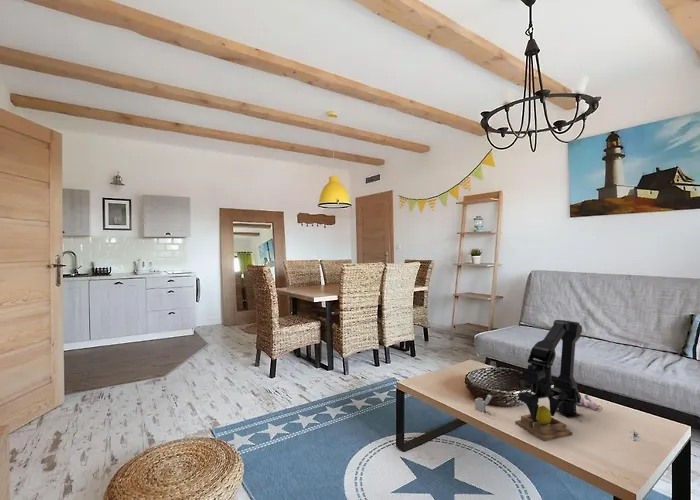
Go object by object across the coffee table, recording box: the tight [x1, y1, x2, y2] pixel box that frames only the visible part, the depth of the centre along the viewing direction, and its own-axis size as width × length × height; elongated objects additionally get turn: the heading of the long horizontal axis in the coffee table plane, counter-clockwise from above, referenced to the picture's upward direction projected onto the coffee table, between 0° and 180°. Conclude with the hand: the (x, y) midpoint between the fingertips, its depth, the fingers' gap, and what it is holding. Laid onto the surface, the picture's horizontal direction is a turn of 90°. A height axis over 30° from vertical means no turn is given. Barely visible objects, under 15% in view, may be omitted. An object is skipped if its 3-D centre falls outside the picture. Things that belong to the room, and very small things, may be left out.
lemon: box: [536, 405, 552, 426], centre depth 141 cm, size 6×6×8 cm
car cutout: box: [627, 430, 640, 442], centre depth 138 cm, size 15×7×4 cm, turn 140°
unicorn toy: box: [576, 394, 603, 413], centre depth 162 cm, size 6×6×15 cm
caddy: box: [514, 413, 573, 442], centre depth 141 cm, size 14×14×4 cm
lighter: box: [474, 393, 493, 413], centre depth 156 cm, size 7×2×8 cm, turn 42°
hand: (542, 417), depth 141 cm, fingers open, 9 cm apart
